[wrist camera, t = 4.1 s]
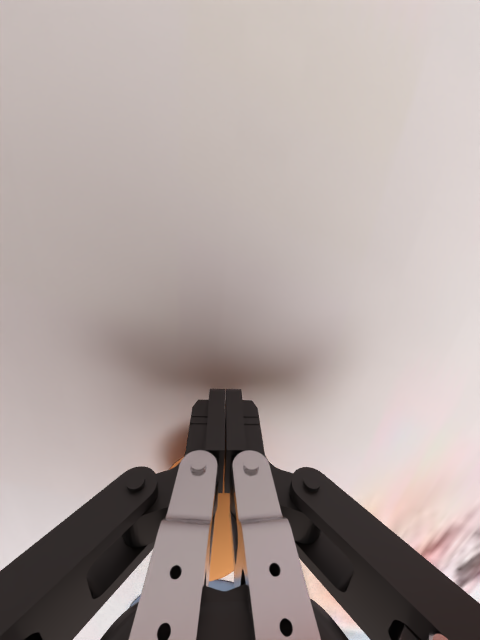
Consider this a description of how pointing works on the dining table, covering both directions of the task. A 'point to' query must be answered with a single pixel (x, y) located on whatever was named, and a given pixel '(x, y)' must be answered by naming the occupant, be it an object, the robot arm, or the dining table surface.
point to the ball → (220, 538)
